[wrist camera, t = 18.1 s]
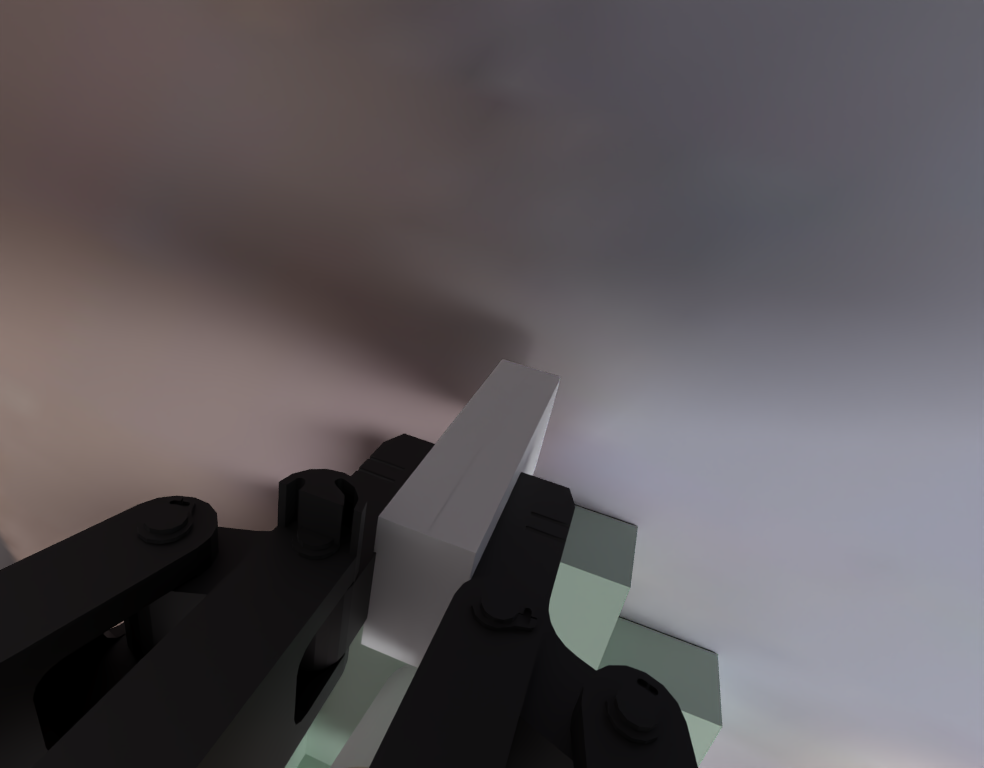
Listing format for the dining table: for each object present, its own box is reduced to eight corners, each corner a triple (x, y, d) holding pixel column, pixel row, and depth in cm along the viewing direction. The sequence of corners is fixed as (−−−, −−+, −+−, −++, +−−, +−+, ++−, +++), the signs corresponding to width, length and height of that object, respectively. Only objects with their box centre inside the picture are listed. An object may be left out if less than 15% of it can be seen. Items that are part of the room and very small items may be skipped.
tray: (315, 416, 18) (265, 454, 16) (763, 569, 16) (776, 640, 13) (299, 740, 26) (264, 795, 24) (596, 879, 23) (586, 956, 21)
